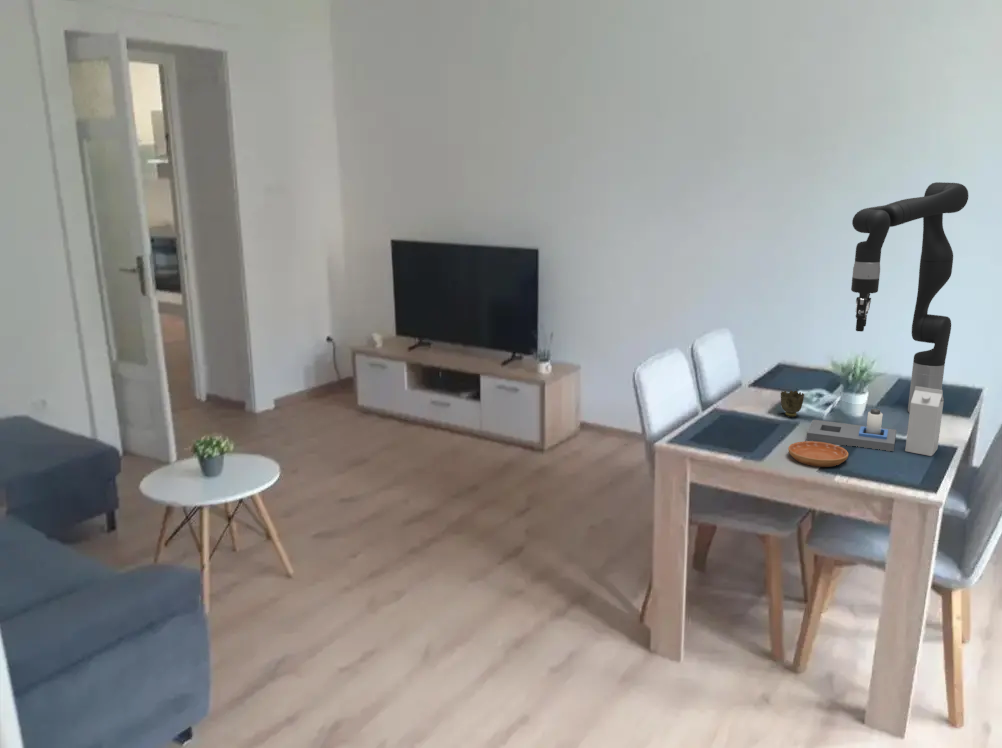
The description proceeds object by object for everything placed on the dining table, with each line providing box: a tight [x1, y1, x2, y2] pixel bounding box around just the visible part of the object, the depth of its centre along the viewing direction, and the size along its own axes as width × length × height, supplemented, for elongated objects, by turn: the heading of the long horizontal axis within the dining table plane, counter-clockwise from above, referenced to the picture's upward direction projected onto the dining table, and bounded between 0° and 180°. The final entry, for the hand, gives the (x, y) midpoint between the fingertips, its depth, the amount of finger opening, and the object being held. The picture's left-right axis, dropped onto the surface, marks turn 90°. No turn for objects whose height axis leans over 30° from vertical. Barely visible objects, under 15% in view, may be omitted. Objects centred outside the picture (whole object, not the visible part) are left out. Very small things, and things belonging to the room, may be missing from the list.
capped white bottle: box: [866, 408, 884, 435], centre depth 238 cm, size 4×4×10 cm
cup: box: [780, 389, 805, 418], centre depth 264 cm, size 8×7×8 cm
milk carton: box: [904, 386, 945, 457], centre depth 229 cm, size 7×7×19 cm
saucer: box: [787, 440, 849, 468], centre depth 226 cm, size 16×16×3 cm
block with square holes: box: [805, 419, 897, 452], centre depth 242 cm, size 14×24×3 cm, turn 62°
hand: (860, 328), depth 244 cm, fingers open, 8 cm apart
